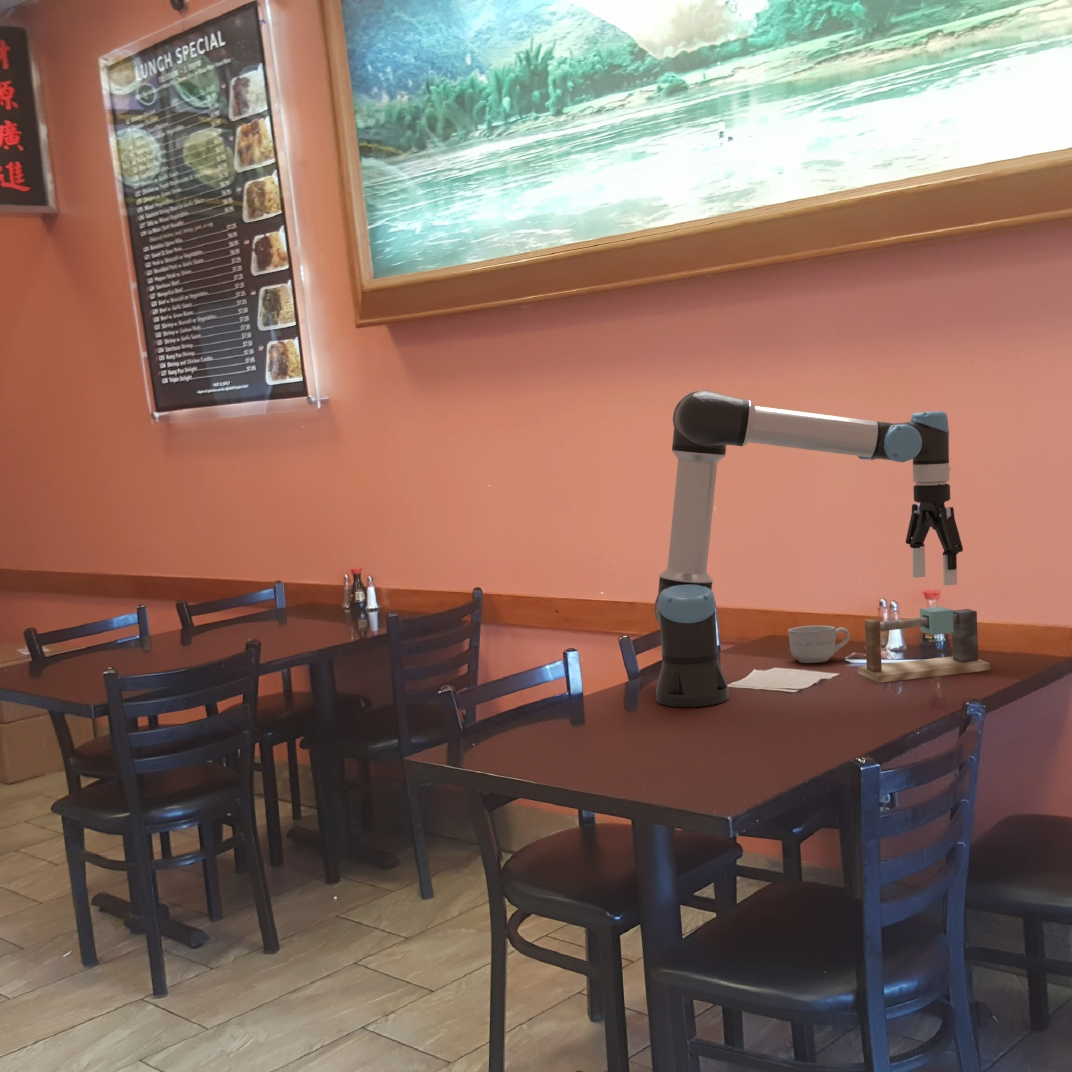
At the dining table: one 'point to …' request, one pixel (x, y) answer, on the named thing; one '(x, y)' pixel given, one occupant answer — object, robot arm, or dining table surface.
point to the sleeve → (937, 620)
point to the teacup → (815, 642)
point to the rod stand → (956, 664)
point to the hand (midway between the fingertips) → (934, 581)
